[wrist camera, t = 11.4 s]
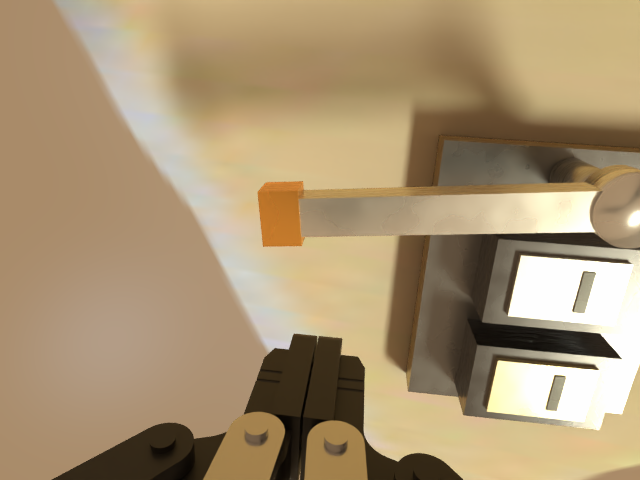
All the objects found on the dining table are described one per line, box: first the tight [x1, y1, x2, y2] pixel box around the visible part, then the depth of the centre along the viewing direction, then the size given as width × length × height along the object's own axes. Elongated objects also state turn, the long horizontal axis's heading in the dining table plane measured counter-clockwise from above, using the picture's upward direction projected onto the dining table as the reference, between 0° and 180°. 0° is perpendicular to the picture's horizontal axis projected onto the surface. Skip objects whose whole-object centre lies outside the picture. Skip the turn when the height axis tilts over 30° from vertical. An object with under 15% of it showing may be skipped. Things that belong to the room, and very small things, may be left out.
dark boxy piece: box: [406, 135, 640, 430], centre depth 27 cm, size 17×14×7 cm
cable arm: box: [258, 165, 640, 249], centre depth 21 cm, size 18×3×2 cm, turn 93°
